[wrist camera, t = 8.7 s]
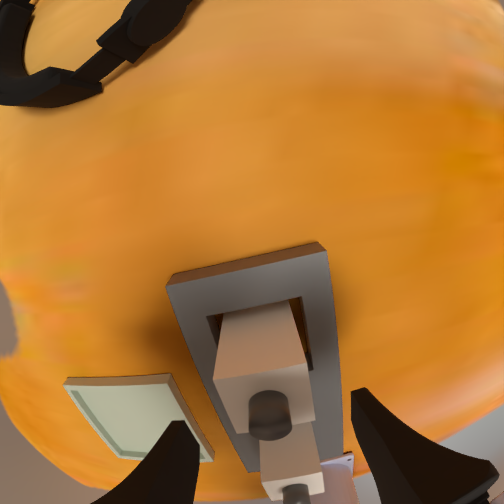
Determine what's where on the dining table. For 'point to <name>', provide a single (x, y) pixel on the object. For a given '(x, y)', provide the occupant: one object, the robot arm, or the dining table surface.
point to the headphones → (91, 72)
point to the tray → (134, 412)
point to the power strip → (318, 357)
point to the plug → (263, 371)
